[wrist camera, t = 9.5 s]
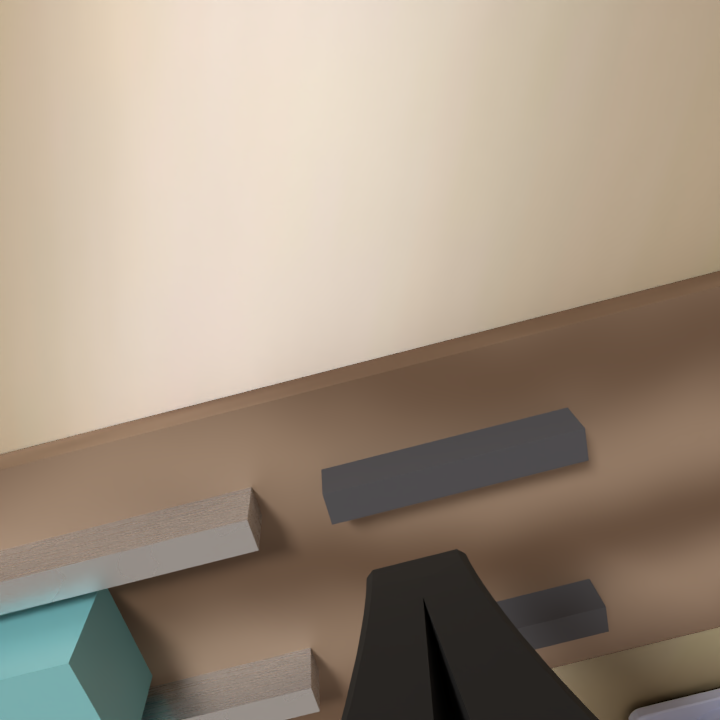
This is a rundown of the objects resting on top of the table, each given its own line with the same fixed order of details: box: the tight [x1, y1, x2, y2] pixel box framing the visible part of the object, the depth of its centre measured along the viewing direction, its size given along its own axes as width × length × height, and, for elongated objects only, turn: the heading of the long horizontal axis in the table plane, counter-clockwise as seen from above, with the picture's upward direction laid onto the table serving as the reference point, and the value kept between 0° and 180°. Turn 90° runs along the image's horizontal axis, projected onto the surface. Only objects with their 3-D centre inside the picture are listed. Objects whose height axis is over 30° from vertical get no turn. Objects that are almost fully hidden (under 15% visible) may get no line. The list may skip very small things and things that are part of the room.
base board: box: [0, 271, 720, 720], centre depth 20 cm, size 12×29×1 cm, turn 104°
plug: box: [0, 588, 152, 720], centre depth 18 cm, size 4×5×3 cm
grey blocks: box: [321, 407, 609, 650], centre depth 19 cm, size 7×7×1 cm
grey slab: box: [0, 487, 320, 720], centre depth 19 cm, size 7×11×2 cm, turn 104°
